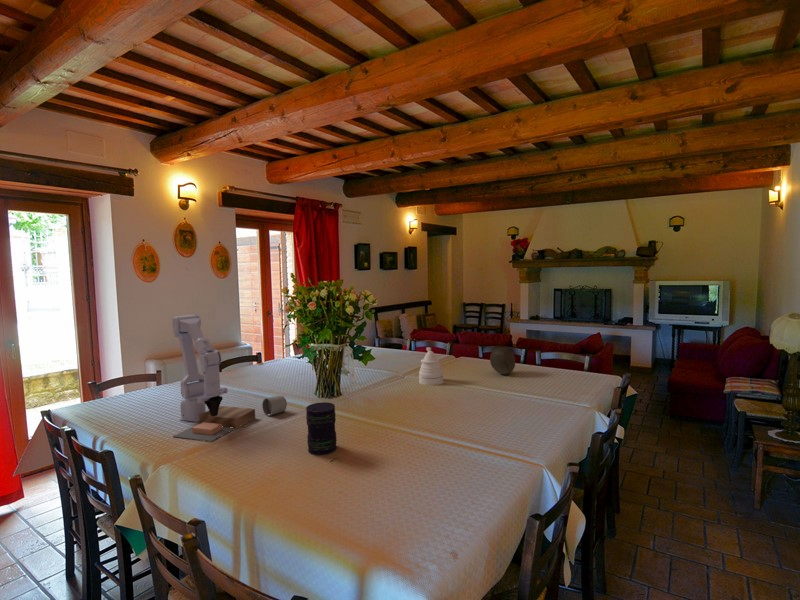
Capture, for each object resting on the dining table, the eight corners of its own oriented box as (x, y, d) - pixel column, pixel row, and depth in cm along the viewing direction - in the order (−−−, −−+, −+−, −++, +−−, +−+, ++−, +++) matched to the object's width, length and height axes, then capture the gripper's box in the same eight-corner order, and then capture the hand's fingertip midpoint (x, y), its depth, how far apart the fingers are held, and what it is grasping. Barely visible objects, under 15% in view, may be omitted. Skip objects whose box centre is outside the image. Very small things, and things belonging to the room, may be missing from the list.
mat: (172, 437, 165) (172, 436, 165) (198, 425, 177) (198, 424, 177) (211, 441, 159) (211, 440, 159) (235, 429, 172) (235, 428, 172)
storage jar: (324, 441, 157) (322, 400, 156) (343, 447, 151) (341, 405, 149) (301, 450, 149) (299, 408, 148) (320, 458, 143) (318, 413, 142)
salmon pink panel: (203, 422, 173) (203, 427, 174) (192, 427, 168) (192, 432, 168) (222, 424, 171) (222, 429, 171) (211, 429, 165) (211, 434, 165)
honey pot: (414, 380, 235) (414, 347, 234) (435, 377, 241) (434, 345, 239) (426, 386, 224) (425, 351, 222) (447, 383, 229) (447, 349, 228)
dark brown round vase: (519, 372, 246) (518, 346, 245) (511, 378, 234) (510, 350, 233) (494, 370, 253) (494, 344, 252) (486, 375, 242) (485, 348, 240)
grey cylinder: (288, 412, 190) (287, 395, 189) (272, 417, 183) (271, 399, 183) (274, 408, 197) (273, 391, 196) (258, 413, 190) (257, 395, 190)
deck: (199, 424, 178) (198, 415, 177) (220, 414, 189) (219, 405, 189) (236, 428, 172) (235, 418, 172) (255, 418, 183) (254, 408, 183)
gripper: (206, 387, 164) (209, 422, 165) (232, 377, 178) (234, 410, 179) (191, 386, 166) (194, 421, 167) (218, 376, 180) (220, 409, 181)
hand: (214, 415), depth 173 cm, fingers closed
